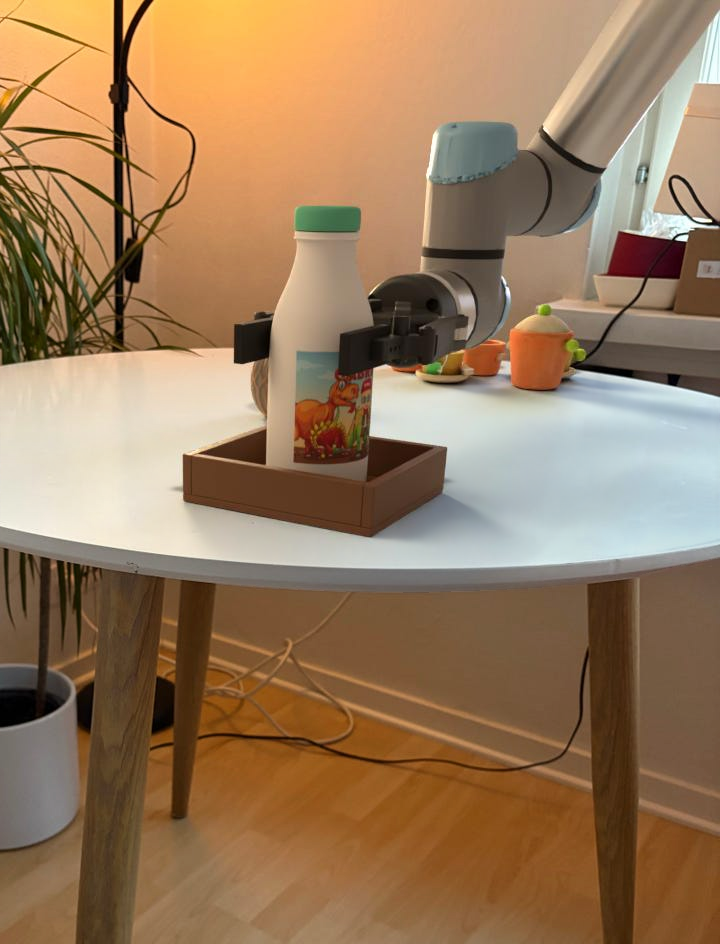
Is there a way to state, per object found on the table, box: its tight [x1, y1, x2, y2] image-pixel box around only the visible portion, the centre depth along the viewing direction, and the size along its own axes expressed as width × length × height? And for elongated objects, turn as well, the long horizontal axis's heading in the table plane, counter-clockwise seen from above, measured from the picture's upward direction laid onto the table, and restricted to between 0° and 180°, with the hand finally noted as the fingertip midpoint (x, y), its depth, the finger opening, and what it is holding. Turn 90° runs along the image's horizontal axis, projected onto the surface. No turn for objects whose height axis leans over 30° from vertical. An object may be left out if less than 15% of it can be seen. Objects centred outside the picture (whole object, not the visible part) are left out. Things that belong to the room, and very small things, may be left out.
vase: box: [250, 358, 269, 418], centre depth 102 cm, size 7×7×9 cm
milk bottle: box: [266, 204, 374, 482], centre depth 72 cm, size 8×8×20 cm
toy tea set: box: [390, 303, 587, 391], centre depth 125 cm, size 26×16×10 cm, turn 74°
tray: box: [182, 424, 448, 538], centre depth 75 cm, size 16×14×4 cm
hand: (289, 349), depth 68 cm, fingers closed on milk bottle, 8 cm apart
